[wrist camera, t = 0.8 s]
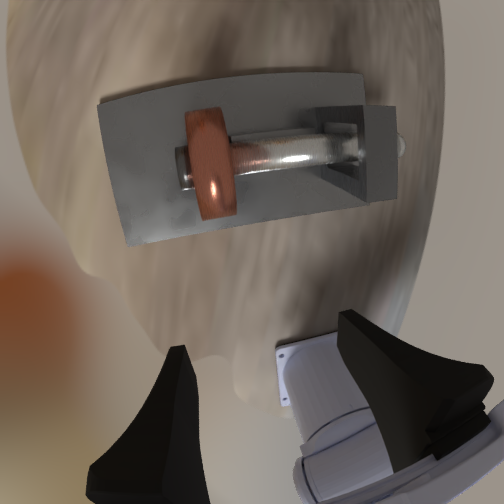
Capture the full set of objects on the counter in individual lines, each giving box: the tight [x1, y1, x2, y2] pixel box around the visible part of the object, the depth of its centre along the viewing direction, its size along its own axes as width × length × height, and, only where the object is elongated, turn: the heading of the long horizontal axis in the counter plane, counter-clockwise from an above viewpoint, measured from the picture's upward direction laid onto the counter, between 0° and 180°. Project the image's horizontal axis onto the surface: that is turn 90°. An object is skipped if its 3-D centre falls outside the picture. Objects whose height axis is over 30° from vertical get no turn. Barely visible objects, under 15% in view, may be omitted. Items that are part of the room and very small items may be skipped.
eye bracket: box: [97, 72, 398, 247], centre depth 16 cm, size 10×18×7 cm, turn 97°
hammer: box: [175, 106, 406, 221], centre depth 16 cm, size 6×14×6 cm, turn 97°
